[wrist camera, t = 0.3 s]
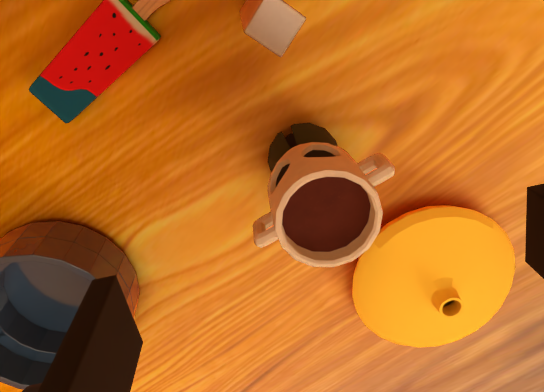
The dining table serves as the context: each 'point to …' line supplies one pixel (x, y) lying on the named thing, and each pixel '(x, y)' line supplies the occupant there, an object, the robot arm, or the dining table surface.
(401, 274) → the vase
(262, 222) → the character mug
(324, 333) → the dining table surface
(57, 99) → the popsicle
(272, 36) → the stirring stick
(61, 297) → the mixing bowl
